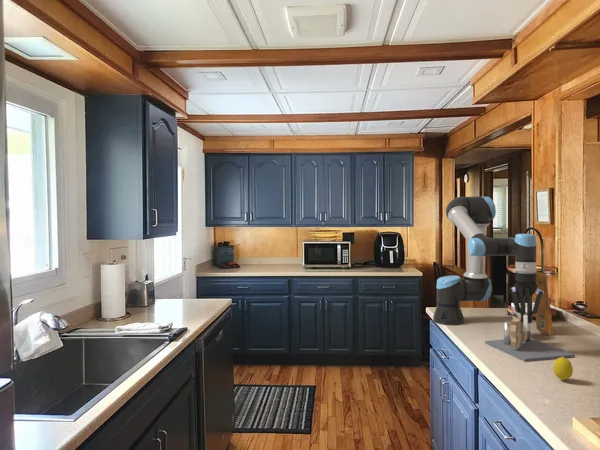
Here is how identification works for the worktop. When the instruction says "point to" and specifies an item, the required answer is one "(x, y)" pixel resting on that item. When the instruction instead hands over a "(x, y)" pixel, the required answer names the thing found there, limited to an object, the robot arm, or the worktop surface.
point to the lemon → (563, 368)
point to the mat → (531, 350)
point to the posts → (507, 333)
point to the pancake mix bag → (543, 307)
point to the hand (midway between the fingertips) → (526, 330)
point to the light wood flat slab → (517, 332)
